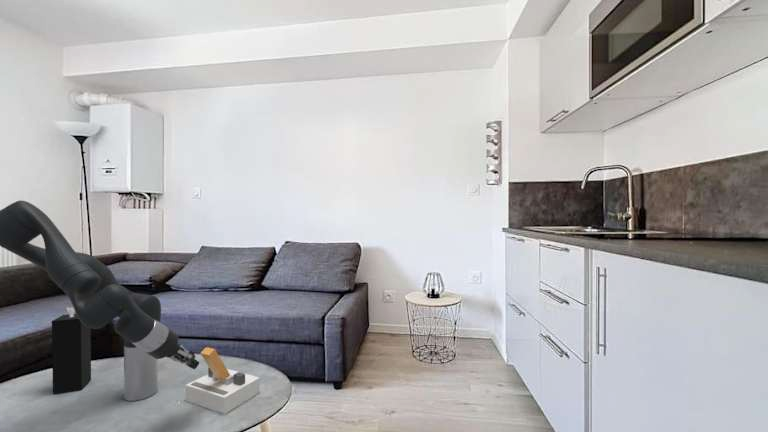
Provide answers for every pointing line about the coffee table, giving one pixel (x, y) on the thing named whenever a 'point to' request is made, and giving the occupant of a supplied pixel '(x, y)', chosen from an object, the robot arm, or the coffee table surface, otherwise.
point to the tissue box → (70, 353)
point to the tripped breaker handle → (215, 363)
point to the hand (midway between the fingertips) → (195, 365)
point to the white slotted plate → (222, 391)
